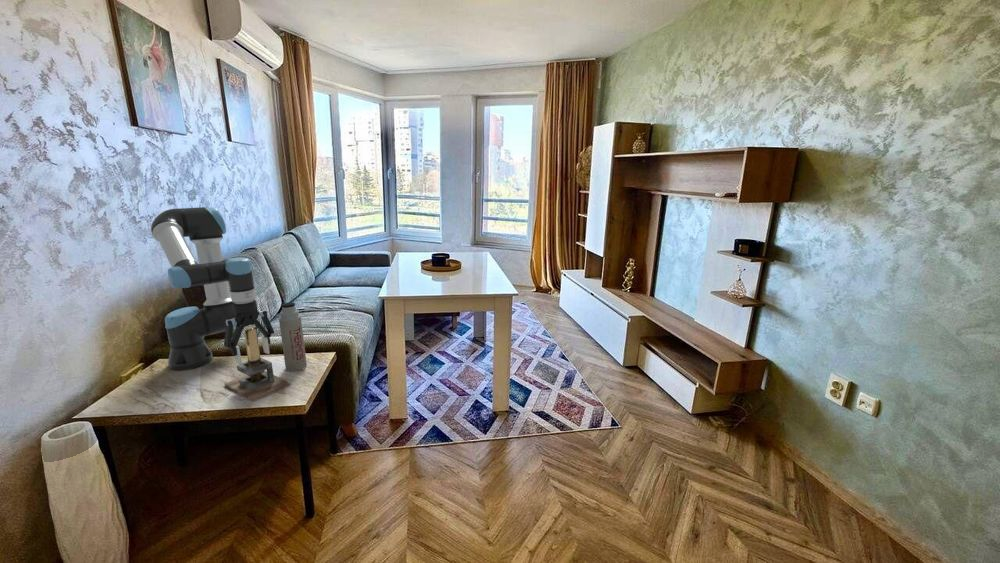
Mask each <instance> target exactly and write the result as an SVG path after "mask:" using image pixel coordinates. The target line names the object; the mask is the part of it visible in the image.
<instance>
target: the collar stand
mask: <svg viewBox="0 0 1000 563" xmlns="http://www.w3.org/2000/svg"><path fill="white" fill-rule="evenodd" d="M273 369H274V368H273V363H272V361H269V360H267V359H265V358H262V357H261V365H259V366H256V367H254V368H251V369H250V368H249V364H248V360H247V361H245V362H242V363H241V364H239V363H238V364H237V365H236V370H237V371H238V372H240V373H242V374H244V375H242V376H240V377H238V378H235V379H233V380H230V381H227V382H224V386H225V387H226V388H227V389H230V390H232V391H233V392H235V393H236V394H238V395H240V396H243V397H244V398H246V399H248V400H250V401H251V402H254V401H257V400H259V399H261V398H263V397H266V396H268V395H271V394H272V393H275V392H277V391H279V390H282V389H284V388H286V387H289V386H290V385H291V383H290V382H291V381H287V380H286V379H284V378H281V377H279V376H277V375H274V370H273ZM259 372H262V376H263V379H262V380H260V381H257V382H255V383H251V380H250V376H251V375H254V374H256V373H259Z"/></svg>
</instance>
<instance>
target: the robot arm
mask: <svg viewBox="0 0 1000 563" xmlns="http://www.w3.org/2000/svg"><path fill="white" fill-rule="evenodd" d="M150 231H151V235H152V237H153V239H154V240H155V241H157V242H159V244H160V246H161V248H162V250H163V253H164V254H165V257H166V259H167V261H168V263H169V265H170V268H168V269H167V276H168V280H169V283H170V286H171V287H172V289H177V290H178V289H189V288H193V287H199V286H203V287H204V292H205V297H206V300H205V301H204V302H203V308H199V307H198V306H187V307H182V308H178V309H175V310H173V311H171V312H169V313H167V315H166V316H165V317H164V323H165V326H164V327H165V329H166V332H167V339H168V343H169V347H170V351H169V355H168V360H167V364H168V368H169V369H170V370H171V371H172V370H173V371H186V370H191V369H196V368H199V367H201V366H204V365H206V364H208V363H210V362H211V361H212V360H213V358H214V357H213V352H212V351H211V350H210V348H209V346H208V345H207V343H206V341H205V337H206V336H211V335H216V334H219V333H223V332H225V333H224V340H223V346H224V347H225V348H228V349H230V352H231V355H232V356H234V360H235V363H236V364H238V365H239V364H242V363H243V362H242V356H241V351H240V346H238V343H239V341H240V338H241V335H242V333H243V331H244V329H245V328H247V327H249V326H253V325H254V327H256V328H257V330H258V331H259V332H260V333H261V334H262V335H263V336H261V341H262V348H263V353H265V354H267V355H269V354H270V353H271V352H270V346H269V345H270V344H271V337H272V335H273V334H275V330H274V327H273V326H272V324H271V322H270V320H269V317H268V311H267V310H264V309H261V310H259V311H258V303H257V302H258V301H257V300H256V297H257V296H256V289H255V283H254V282H255V281H254V276H253V267H252V265H251V260H250V259H249V258H248V257H233V258H223V253H222V247H221V243H220V242H221V241H222V240H223V239H224V237H223V235H225V234H226V233H227V226H226V222H225V219H224V218H223V214H222V213H221V212H220V210H219V209H217V208H216V207H212V206H211V207H209V206H203V207H202V206H201V207H187V208H186V207H184V208H182V207H181V208H176V207H175V208H169V209H167V210H164V211H162V212H161V213H159V214H158V215H157V216H156V217H155V218H154V219H153V221H152V223H151V226H150ZM185 237H186V238H189V242H191V243H193V244H194V246H195V249H196V254H197V258H198V261H197V259H196V257H195V255H194V253H193V251H192V250H191V249H190V248H191V247H190V246H189V245H188V242H187V240H186V239H185ZM259 317H260V318H261V321H262V322H263V324H261V322H260V321H259V320H258V318H259ZM263 325H264V326H263ZM233 331H234V332H233Z"/></svg>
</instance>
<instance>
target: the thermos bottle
mask: <svg viewBox="0 0 1000 563" xmlns="http://www.w3.org/2000/svg"><path fill="white" fill-rule="evenodd" d="M280 306H281V311H280V313H279V318H278V323H279V331H280V337H281V345H282V351H283V360H284V367H285V370H286V371H287V370H288V371H287V372H298V371H302V370H303V368H304V369H305V368H307V366H308V362H307V355H306V350H305V349H306V347H305V339H304V332H303V325H302V316H301V315H300V312H299V309H296V303H295V302H292V301H289V302H284V303H282V304H281V305H280ZM301 369H302V370H301ZM297 370H298V371H297Z"/></svg>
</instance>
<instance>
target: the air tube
mask: <svg viewBox="0 0 1000 563" xmlns="http://www.w3.org/2000/svg"><path fill="white" fill-rule="evenodd" d="M243 332H244V340H245V348H246V354H247V355H246V356H247V361H248V364H249V368H250V369H251V368H254V367H256V366H259V365H261V358H262V357H261V353H260V345H259V335H258V328H257V327H256V326H250V327H249V326H248V327H245V328H244V329H243ZM262 379H263V376H262V372H259V373H256V374H254V375H251V376H250V380H251V383H255V382H257V381H260V380H262Z"/></svg>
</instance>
